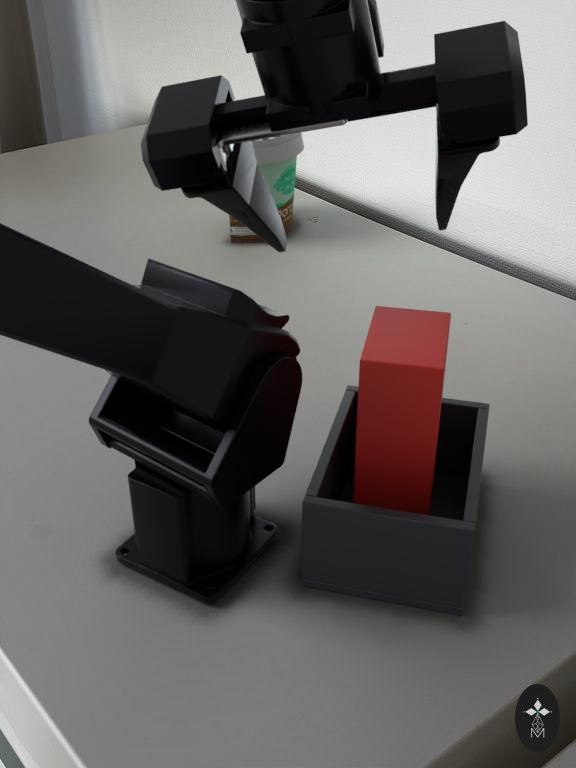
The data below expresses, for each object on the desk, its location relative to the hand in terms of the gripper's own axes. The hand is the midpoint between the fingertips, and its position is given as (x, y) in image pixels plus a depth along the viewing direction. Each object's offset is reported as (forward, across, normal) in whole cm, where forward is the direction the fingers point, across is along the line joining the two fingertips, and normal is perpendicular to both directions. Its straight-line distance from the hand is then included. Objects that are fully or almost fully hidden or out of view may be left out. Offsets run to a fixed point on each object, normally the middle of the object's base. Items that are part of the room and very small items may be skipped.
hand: (361, 236), depth 49 cm
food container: (+22, +14, -29) cm, 39 cm away
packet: (+10, 0, +12) cm, 15 cm away
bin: (+10, -1, +13) cm, 17 cm away
